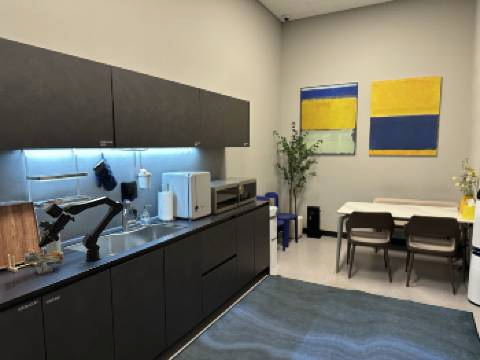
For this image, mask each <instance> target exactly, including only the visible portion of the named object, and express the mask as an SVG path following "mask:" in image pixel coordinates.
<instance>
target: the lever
mask: <svg viewBox="0 0 480 360" xmlns="http://www.w3.org/2000/svg"><path fill="white" fill-rule="evenodd" d="M58 254H59V255H58V256H50V254H47V253H39V252H25V253H24V254H23V263H24V265H29V264H30V265H31V264H41V263H43V262H44V261H46V262H47V263H55V265H60V264H62V263H63V262H64V258H65V254H64V252H63V251H58Z"/></svg>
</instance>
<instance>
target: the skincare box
mask: <svg viewBox="0 0 480 360" xmlns="http://www.w3.org/2000/svg"><path fill="white" fill-rule="evenodd" d="M58 236H59V238H60V239H59V240H58V241H57V242H56V241H53V242H51V243H49V244H47V245H45V247H46V248H45V249H46V254H51V253H52V252H53V251H57V252H58V251H62V242H61V234H60V233H59V235H58ZM62 252H63V251H62Z"/></svg>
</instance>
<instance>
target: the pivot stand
mask: <svg viewBox="0 0 480 360" xmlns="http://www.w3.org/2000/svg"><path fill="white" fill-rule="evenodd" d="M47 263H48V262H46V261H44V262H43V263H40V264H41V266H39V267H35V271H36V274H37V275H43V274H48V273H53V272H54V269H53V268H52V266H51V265H50V264H49V265H48V264H47Z"/></svg>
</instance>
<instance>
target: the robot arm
mask: <svg viewBox="0 0 480 360" xmlns="http://www.w3.org/2000/svg"><path fill="white" fill-rule="evenodd" d="M102 205H106V206H109V208H108V211H107V213H106V214H105V215H104V217H103V218H102V220H101V221H100V222H99V223H98V224H97V226H96V227H95V228H94V229H93V231H91V232H90V233H89V232H87V233H85V235H84V237H82V241H81V243H82V246H83V247H84V248H86V253H85V257H86V259H85V261H86V262H91V263H93V262H96V261H100V260H101V259H102V257H100V248H101V247H100V245H98V244H97V243H98V241H99V237H100V236H101V235H102V233H103V232H104V230H105V229H106V228H107V226H108V225H109V224H110V223H111V222H112V221H113V219H114V218H115V217H116V216H117V215H119V214H120V213H121V212H122V211H123V210H124V204H123V203H122V202H120V201H116V200H113V199H111V198H109V197H108V196H102V197H100V198H94V199H92V200H88V201H84V202H77V203H76V202H75V203H71V204H68V205H67V206H64V207H61V206H59V205H58V204H57V203H56V202H54V203H52V204H50V206H48V207H47V208H46V209H45V210H44V213H45V214H47V216H49V217H51V218H53V219H56V220H54V221H52V222H50V221H48V220H40V221H39V224H38V227H39V228H41V229H42V234H43V236H42V238H41V239H40V241H39V243H38V244H37V246H38V247H39V248H40V249H41V248H43V247H46V245H47V244H49V243H51V242H53V241H56V242H57V241H58V240H59V239H60V240H61V237H60V238H59V236H58V235H59V234H60V233H61V232H62V230H65V227H66V226H67V225H68V224H69V223H70V222H71V221H72V222H74V223H75V221H76V220H75V216H77V215H79V214H81V213H82V212H84V211H86V210H89V209H92V208H97V207H98V206H102Z"/></svg>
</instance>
